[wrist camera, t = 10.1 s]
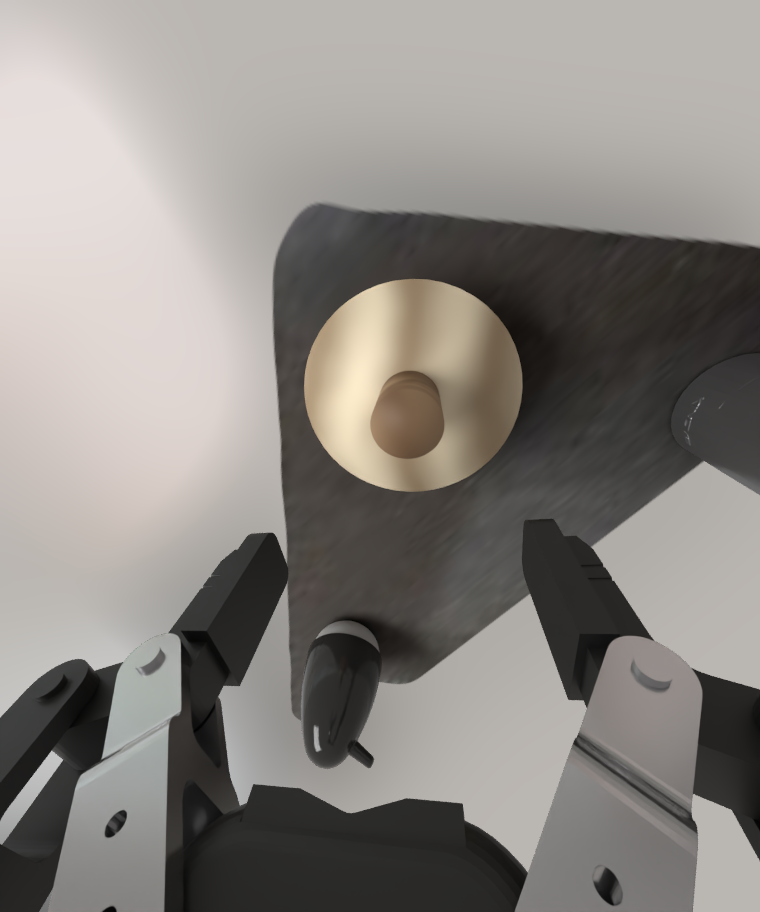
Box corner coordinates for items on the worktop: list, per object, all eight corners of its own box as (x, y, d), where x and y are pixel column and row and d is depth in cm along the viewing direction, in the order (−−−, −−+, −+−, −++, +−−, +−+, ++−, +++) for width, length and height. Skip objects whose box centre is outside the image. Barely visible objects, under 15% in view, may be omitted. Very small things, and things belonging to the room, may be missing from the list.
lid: (522, 257, 20) (558, 246, 15) (515, 477, 27) (539, 523, 22) (283, 301, 23) (242, 305, 18) (333, 491, 30) (314, 535, 25)
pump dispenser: (378, 660, 50) (362, 796, 37) (312, 644, 50) (273, 774, 37) (393, 619, 45) (382, 758, 32) (320, 601, 45) (279, 733, 32)
